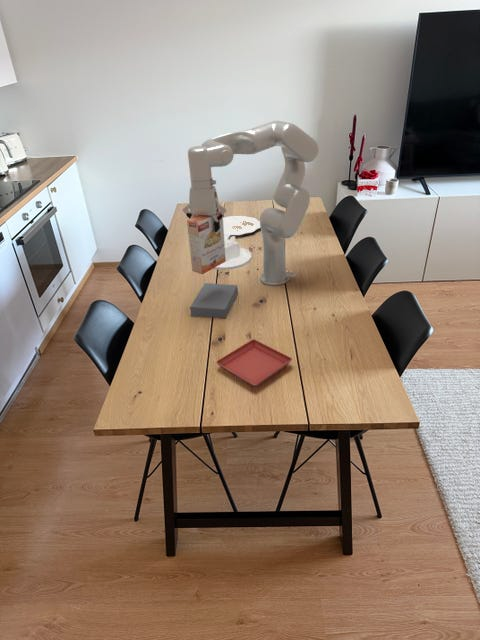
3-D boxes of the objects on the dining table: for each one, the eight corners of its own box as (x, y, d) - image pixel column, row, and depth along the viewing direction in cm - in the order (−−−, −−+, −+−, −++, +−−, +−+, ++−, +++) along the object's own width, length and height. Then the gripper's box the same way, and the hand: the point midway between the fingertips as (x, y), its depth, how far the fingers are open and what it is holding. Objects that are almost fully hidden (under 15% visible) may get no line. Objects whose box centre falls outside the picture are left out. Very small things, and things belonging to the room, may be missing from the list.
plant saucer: (215, 369, 155) (214, 361, 153) (253, 345, 165) (253, 337, 163) (255, 393, 143) (254, 385, 142) (293, 366, 154) (293, 358, 152)
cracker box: (203, 275, 178) (197, 222, 167) (191, 271, 181) (185, 219, 170) (227, 261, 187) (223, 210, 176) (215, 258, 190) (210, 208, 179)
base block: (237, 293, 197) (237, 285, 195) (225, 318, 181) (225, 309, 179) (205, 291, 200) (204, 283, 198) (191, 315, 184) (190, 306, 182)
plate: (200, 226, 268) (200, 222, 267) (247, 216, 278) (247, 212, 277) (220, 243, 245) (220, 238, 244) (270, 232, 255) (270, 227, 254)
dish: (218, 245, 243) (216, 224, 237) (260, 253, 231) (260, 232, 225) (190, 264, 225) (187, 242, 219) (234, 274, 214) (233, 251, 208)
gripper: (228, 180, 168) (231, 227, 177) (182, 180, 172) (187, 226, 181) (222, 187, 162) (225, 235, 171) (174, 186, 166) (180, 233, 175)
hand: (206, 230), depth 176 cm, fingers closed on cracker box, 7 cm apart
